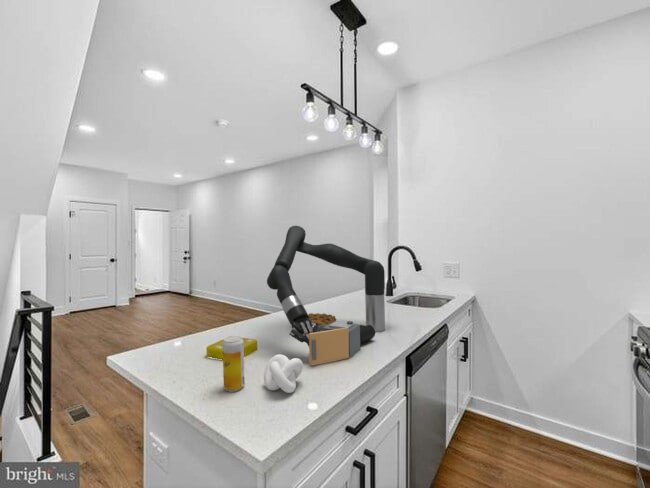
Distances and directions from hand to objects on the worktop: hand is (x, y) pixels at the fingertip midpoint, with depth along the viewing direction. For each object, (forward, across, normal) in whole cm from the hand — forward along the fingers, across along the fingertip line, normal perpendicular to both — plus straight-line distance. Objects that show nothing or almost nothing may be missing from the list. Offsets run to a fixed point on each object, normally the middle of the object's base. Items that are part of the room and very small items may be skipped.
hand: (315, 349), depth 109 cm
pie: (-22, -30, -30) cm, 48 cm away
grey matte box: (+2, -15, -5) cm, 16 cm away
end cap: (+2, -29, -6) cm, 29 cm away
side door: (+5, -5, -1) cm, 7 cm away
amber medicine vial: (+1, +29, -6) cm, 30 cm away
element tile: (-18, +17, -26) cm, 36 cm away
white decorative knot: (+9, +19, +2) cm, 21 cm away
